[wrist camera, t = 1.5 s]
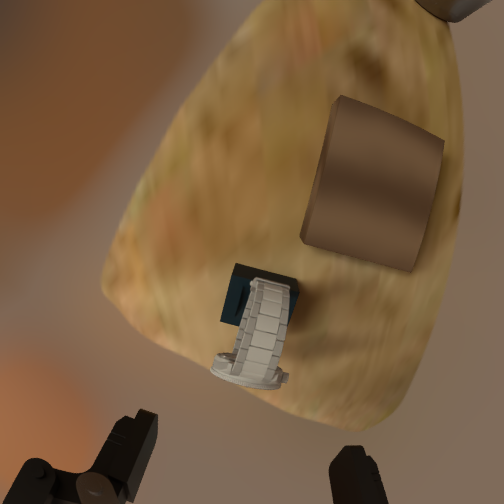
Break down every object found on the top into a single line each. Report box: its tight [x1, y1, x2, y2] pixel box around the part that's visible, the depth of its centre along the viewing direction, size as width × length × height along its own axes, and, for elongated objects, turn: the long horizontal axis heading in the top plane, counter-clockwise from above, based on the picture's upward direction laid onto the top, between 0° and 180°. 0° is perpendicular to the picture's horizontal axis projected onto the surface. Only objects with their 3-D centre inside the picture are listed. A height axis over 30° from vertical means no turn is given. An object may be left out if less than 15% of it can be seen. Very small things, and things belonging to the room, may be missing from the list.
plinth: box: [300, 95, 445, 273], centre depth 21 cm, size 12×10×3 cm
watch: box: [210, 263, 300, 390], centre depth 20 cm, size 6×8×11 cm
